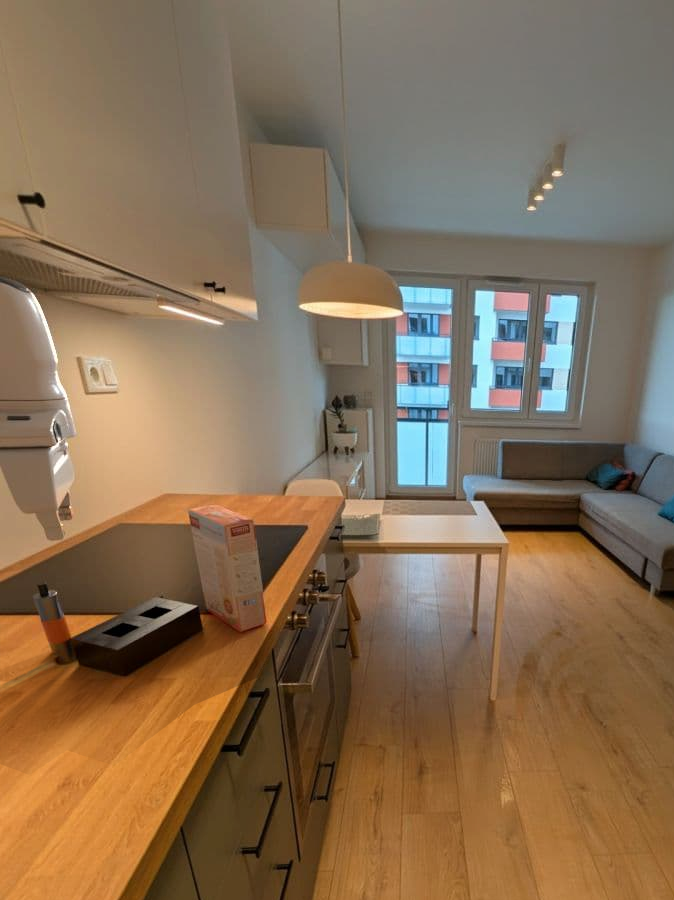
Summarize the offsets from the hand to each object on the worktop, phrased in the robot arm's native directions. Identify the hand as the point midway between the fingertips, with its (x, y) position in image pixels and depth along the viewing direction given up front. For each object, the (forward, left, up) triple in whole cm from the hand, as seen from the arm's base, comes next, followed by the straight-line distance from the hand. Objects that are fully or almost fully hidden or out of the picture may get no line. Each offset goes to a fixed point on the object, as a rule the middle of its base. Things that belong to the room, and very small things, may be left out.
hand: (61, 528), depth 70 cm
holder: (-2, +9, -25) cm, 26 cm away
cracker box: (+5, +24, -25) cm, 35 cm away
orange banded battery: (-10, +1, -25) cm, 27 cm away
